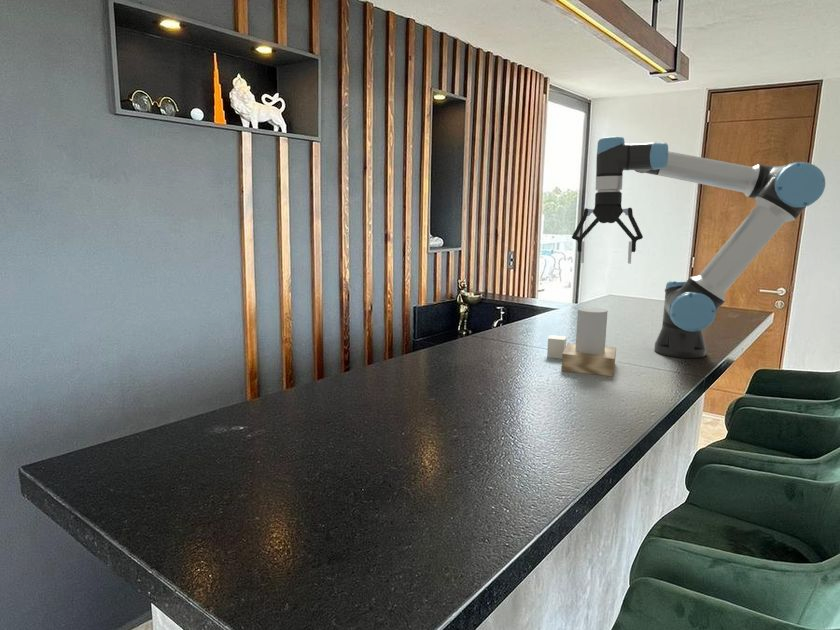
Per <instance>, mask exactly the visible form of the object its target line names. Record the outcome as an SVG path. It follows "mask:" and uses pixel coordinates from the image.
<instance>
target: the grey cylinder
mask: <svg viewBox="0 0 840 630" xmlns="http://www.w3.org/2000/svg"><path fill="white" fill-rule="evenodd" d="M576 320H577V321H576V333H575V334H576V338H575V344H576V349H575V350H576V351H578V352H581V353H587V354H601V353H604V352H605V346H606V339H607V324H608V309H606V308H601V307H595V306H594V307H593V306H587V307H586V306H584V307H579V308H577V318H576Z"/></svg>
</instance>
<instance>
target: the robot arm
mask: <svg viewBox="0 0 840 630" xmlns="http://www.w3.org/2000/svg"><path fill="white" fill-rule="evenodd" d="M596 147H597V149H596V161H595V162H596V165H595V166H596V167H595V168H596V169H595V174H596V175H595V191H597V192H595V194H594V208H593V209H592V208H587V207H585V208H584V210H583V214H582V215H583V216H582V217H581V219H580V221H579V223H578V225H577V226H576V228H575V230H574V232H573V234H572V236H571V239H572V240H575V241H576V242H577V252H578V253H581V257H580V263H581V264H584V262H585V261H584V259H585V240H584V238H586V237H587V235H588V234H589V233H590V232H591V231H592V230H593V228H594V227H595V226H596V225H597V224H598V223H600V224H606V223H608V224H613V223H615V222H616V223H617V224H618V226H620V227H621V229H622V230H623V231H624V232H625V234H626V235H627V236H628V237H629V238H630V240H628V247H627V249H628V251H627V264H632V253H635V252H636V251H637V250H636V249H637V241H639V240H642V239H643V238H644V237H643V234H642V231H641V230H640V228H639V225H638V223H637V221H636V219H635V217H634V213H633V208H632V207H628V208H623V207H622V199H623V198H622V197H623V196H622V194H623V192H621V191H622V190H623V177H624V176H623V175H624V171H635V172H636V173H639V174H650V175H654V176H659V177H665V178H669V179H675V180H680V181H685V182H690V183H695V184H701V185H704V186H710V187H715V188H720V189H725V190H730V191H734V192H737V193H738V192H739V193H743V194H744V196H745V197H746V198H751V199H755V206H754V208H753V209H752V210H751V212H750V213H749V214H748V215H747V216H746V218H745V219H743V221H742V222H741V223H740V224H739V226H738V227H737V228H736V229H735V231H734V232H733V233H732V234H731V236H730V237H729V238H728V239H727V241H726V242H724V244H723V245H722V246H721V248H720V249H719V250H718V251H717V253H716V254H715V255H714V256H713V257H712V258H711V260H710V261H709V262H708V264H706V266H704V269H703V270H702V271H701V272H700V273H699V275H694V276H690V277H689V278H688V279H687V280H686V281H680V280H679V281H678V280H677V281H675V280H673V281H672V280H669V281H667V283H666V284H665V288H664V292H665V294H664V305H663V315H662V326H661V329H660V331H659V333H658V336H657V338H656V340H655V342H654V348H653V350H654V351H655V352H656V353H658V354H661V355H664V356H668V357H673V358H682V359H683V358H684V359H696V358H697V359H698V358H703V357H705V356H706V355H707V354H706V353H707V347H706V341H705V338H704V333H703V330H705V329H707V328H708V327H709V326H710V325H711V324H712V323H713V322H714V320H715V318H716V315H717V311H718V310H719V309H720V308H721V307H722V306H723V304H724V303H725V302H726V301H727V300H726V292H727V291H728V290H729V289H730V288H731V287H732V285H733V284H734V283H735V281H737V279H738V278H739V277H740V276H741V275H742V274H743V272H744V271H745V270H746V269H747V267H748V266H750V264H751V263H752V262H753V260H754V259H755V258H756V257H757V256H758V255H759V253H760V252H761V251H762V250H763V249H764V248H765V246H767V244H768V243H769V241H770V240H772V238H773V237H774V236H775V235H776V233H777V232H778V231H779V230H780V229H781V228H782V227H783V225H784V224H786V223H790V222H794V221H796V219H797V218H798V217H800V215H801V214H802V212H803V211H804V210H805V209H806V208H807V207H809V206H811V205H812V204H814V203H816V202H817V201H818V200H819V199H820V198H821V197H822V196H823V194H824V191H825V189H826V178H825V175H824V173H823V171H822V170H821V168H819V167H818V166H817V165H815V164H813V163H811V162H804V161H793V162H790V163H788V164H784V165H765V164H756V165H754V166H748V165H743V164H738V163H733V162H727V161H721V160H717V159H712V158H705V157H701V156H695V155H690V154H684V153H679V152H674V151H669V145H668V143H666V141H665V142H658V141H654V142H643V143H640V142H639V143H626V142H625V138H624V137H623V136H606V137H602V138H599V140H598V141H597V145H596ZM623 213H624V214H625V216H628V219H629V221H630V223H631V226H632V228H633V229H634V232H635V235H634V234H633V233H632V232H631V230H630V229H629V228H628V227H627V225H625V223H624V222H623V221H622V220H621V218H620V217H621V216H622V214H623ZM591 214H593V215H594V216H595V219H594V220H593V221H592V222H591V223H590V224H589V226H587V228H586V229H585V230H584V231H583V232H581V235H579V234H580V233H579V232H580V231H581V229H582V228H583V226H584V224H585V221H586V220H587V218H588V217H589V216H591Z"/></svg>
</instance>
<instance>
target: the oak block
mask: <svg viewBox="0 0 840 630" xmlns="http://www.w3.org/2000/svg"><path fill="white" fill-rule="evenodd" d="M575 349H576V343H573V342H572V343H571V342H568V343H566V348H565V350H564V352H563V353H562V359H561V372H566V373H567V372H568V373H579V374H588V375H598V376H606V377H607V376H608V377H614V374H615V372H614V371H615V365H616V355H617V347H616V346H606V345H605V352H604V353H601V354H587V353H581V352H578V351H576V350H575Z"/></svg>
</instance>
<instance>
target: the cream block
mask: <svg viewBox="0 0 840 630" xmlns="http://www.w3.org/2000/svg"><path fill="white" fill-rule="evenodd" d="M567 339H568V338H567V336H566V335H565V336H563V335H554V334H553V335H552V334H550V335H549V336H548V338H547V349H546V350H547V351H546V352H547V353H546V357H547V358H555V359H561V360H562V353H563V352H564V350H565V348H566V346H567Z"/></svg>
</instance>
